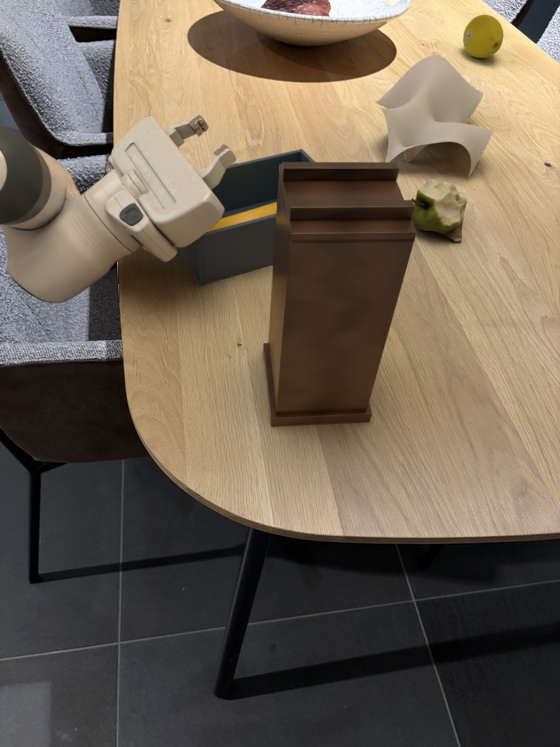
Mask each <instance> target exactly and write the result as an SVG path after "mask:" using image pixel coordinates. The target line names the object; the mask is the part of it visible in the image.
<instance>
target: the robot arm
mask: <svg viewBox="0 0 560 747" xmlns="http://www.w3.org/2000/svg"><path fill="white" fill-rule="evenodd" d="M208 130H209V124H208V123H207V121H206V120H205V118H204V117H203V116H202V115H201V114H200V113H198V112H197V113H195V114H194V115H192V116H191V117H190V118H189V119H187V120H184V121H180V122H177V123H174V124H171V125H169V127H167V128H166V129H164V128H163V126H162V125H161V123H159V121H158V120H157V119H156V118H155V116H153V115H149V116H145V117H142V118H141V119H140V120H138V122H137V123H135V124H134V125H133V126H132V127H131V128H130V129H129V130H128V131H127V132H126V133H125V134H124V135H123V136H122V137H121V138H120V140H118V141H117V143H115V145H114V147H113V148H112V149H111V154H110V155H109V157H107V158H108V161H107V163H106V166H105V172H106V174H105V175H104V176H102V178H100V179H99V180H98V181H97V182H95V183H93V185H92V186H90V187H89V188H88V189H87V190H86V191H85V192H83V193H81V192H80V189H79V188H78V186H77V184H76V183H75V181H74V179H73V177H72V175H71V173H70V172H69V171H68V169H67V168H66V167H65V166H64V165H63V164H62V163H61V162H60V161H58V160H57V159H56V158H54V157H52V156H51V155H50V154H48V153H46V152H45V151H44V150H42V149H41V148H39V147H36V146H35V145H33V144H32V143H31V142H30V141H29V140H27V139H26V138H25V137H24V136H23V135H21V134H20V133H18V132H17V131H15V130H13V129H12V128H10V127H7V126H4V125H1V124H0V226H1V229H2V232H3V233H2V234H3V236H4V241H5V245H6V254H7V261H6V267H5V268H6V271H7V274H8V275H9V276H10V278H11V280H12V281H13V282H14V283H15V284H16V285H17V286H18V287H19V288H21V289H22V290H23V291H24V292H26V294H29V295H30V296H31V297H34V298H35V299H37V300H39V301H41V302H44V303H49V304H63V303H65V302H68V301H69V300H72V299H73V298H75V297H76V296H79V295H80V294H81V293H83V292H84V291H86V290H87V289H89V288H90V287H91V286H93V285H94V284H96V283H97V282H98V281H99V280H101V279H102V278H103V277H105V275H107V274H108V273H109V272H110V271H111V269H112V267H113V266H114V265H115V263H116V262H118V261H119V260H121V259H123V258H124V257H128V256H129V255H131V254H133V253H135V251H136V250H138V249H140V247H141V249H143V250H145V251H147V252H148V253H149V254H151V255H152V256H154V257H156V258H158V259H159V260H160V261H162V262H165V263H167V262H169V261H171V260H172V259H174V257H176V256H177V254H178V252H177V249H176V247H185V246H187V245H189V244H191V243H193V242H194V241H195V240H197V239H198V238H200V237H201V236H202V235H204V234H205V233H206V232H207V231H209V230H210V229H211V228H212V227H213V226H215V225H216V224H217V223H218V222H219V221H220V220H221V218H222V215H223V213H224V210H225V209H224V207H223V205H222V204H221V203H220V201H219V200H218V198H217V197H216V196H215V195H214V193H213V192H212V191H211V190H212V189H213V188H214V187H216V186H217V185H218V184H219V182H220V180H221V178H222V176H223V174H224V173H225V171H226V168H228V167H229V166H230V165H233V164H235V162H236V161H237V157H236V155H235V154H234V152H233V151H232V149H231V148H230V147H229V146H228V145H227V144H221V146H220V147H219V148H217V149H215V150H214V151H213V155H215V157H214V158H213V159H212V161H211V162H210V164H209V165H208V167H206V166H203V167H202V168H200V169H199V170H198V171H197V170H196V169H195V167H194V166H193V164H191V163H190V161H189V160H188V158H187V157H186V156H185V155H184V154H183V152H182V151H181V150H180V147H181V146H183V144H185V140H187V139H188V138H191V137H193V136H196V135H197V137H198V138H200V137H201V136H202V135H203V134H204V133H205V132H207V131H208ZM175 246H176V247H175Z"/></svg>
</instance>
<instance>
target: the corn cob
mask: <svg viewBox="0 0 560 747" xmlns="http://www.w3.org/2000/svg"><path fill="white" fill-rule="evenodd" d="M276 211H277V202H275V203H272V204H268V205H265V206H262V207H258V208H255V209H252V210H248V211H245V212H242V213H239V214H235V215H232V216H229V217H225V218H222V219H221V220H220V221H219V222H218V223H217V224H216V225H215V226H213V227H212V228H211V229H210V230H209V231H212V230H216V229H220V228H224V227H227V226H231V225H235V224H239V223H242V222H246V221H250V220H254V219H257V218H261V217H265V216H269V215H272V214H276ZM209 231H207V232H209Z"/></svg>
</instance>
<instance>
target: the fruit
mask: <svg viewBox="0 0 560 747" xmlns="http://www.w3.org/2000/svg"><path fill="white" fill-rule="evenodd" d="M459 193H460V192H459V191H458V189H457V187H456V185H455V184H453V183H450V182H447V181H443V182H442V181H438V180H437V179H435V178H432V179H428V180H426V181H425V183H424V184H423V188H419V189H417V191H416V196H415V198H413V197H412V198H411V199H410V200H412V201H413V203H414V206H415V209H414V212H413V216H412V221H413V224H414V226H415V229H417V230H419V231H422V232H424V231H432V232H436V233H440V234H443V235H445V236H446V237H448V239H451V240H452V241H454V242H456V243H462V242H463V222H464V216H465V212H466V208H467V204H468V200H467V198H466V197H463V196H460V195H459Z"/></svg>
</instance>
